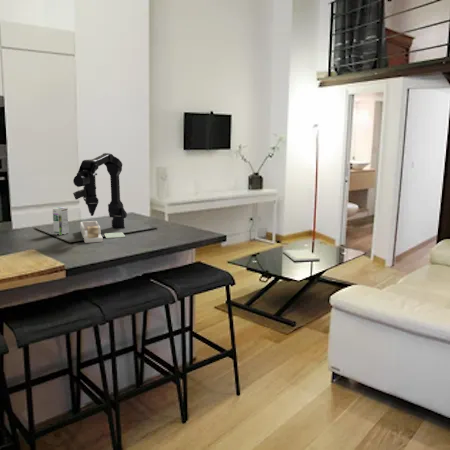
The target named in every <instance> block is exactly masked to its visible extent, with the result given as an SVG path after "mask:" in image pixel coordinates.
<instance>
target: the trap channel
mask: <svg viewBox="0 0 450 450" xmlns="http://www.w3.org/2000/svg"><path fill="white" fill-rule="evenodd" d="M87 226H97V227H98V237H94V238H88V233H87ZM80 233H81V236H82V239H83V238H84V239H83V241H84V244H85V243H87V244H89V243H102V242H104V238H103V236H102V234H101V233H102V231H101V226H100V224H99V222H98V221H97V220H91V221H90V220H89V221H80Z"/></svg>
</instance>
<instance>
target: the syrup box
mask: <svg viewBox="0 0 450 450" xmlns="http://www.w3.org/2000/svg"><path fill="white" fill-rule="evenodd" d="M68 212H69V211H68V207H63V206H56V207H52V221H53V222H52V223H53V234H54V235H57V234H59V236H63V235H62V234H64V235H67V234H66V233H68V234H69V215H68Z"/></svg>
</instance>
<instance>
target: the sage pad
mask: <svg viewBox="0 0 450 450" xmlns="http://www.w3.org/2000/svg"><path fill="white" fill-rule="evenodd" d="M103 234H104V236H105V239H107V240H108V239H119V238H126V235H125V234H124V233H123V232H122V231H121V232H108V233H107V232H105V233H103Z"/></svg>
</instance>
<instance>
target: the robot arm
mask: <svg viewBox="0 0 450 450" xmlns="http://www.w3.org/2000/svg"><path fill="white" fill-rule="evenodd" d="M103 165H105V167H106V171H107V173H108V174H109V177H110V178H109V179H110V195H111V197H110V198H111V199H110V202H109V203H108V204H107V207H108V208H107V209H108V210H107V211H108V215H109V218H112V219H111V227H112V229H114V230H115V229H116V230H117V229H125V219H126V218H127V215H128V214H127V211H126V210H125V209H124V204H123V202H122V200H121V190H120V189H121V188H120V174H121V172H123V163H122V161H121V160H120V159H119V158H118V157H116V156H114V155H113V154H112V153H110V152H109V153H108V152H103V153H102V154H101V155H99V156H96V157H95V158H91V159H84V160H82V161H81V163H80V166H79V168H78V171H77V173H76V175H75V176H74V178H73V184H74V186H75V187H77V188H81V187H82V189H79V190H77V191H74V192H73V193H72V194H73V196H74V200H79V199H81V198H83V201H85V205H86V206H87V208H88V212H89V214H90V216H91V217H93V216H94V215H95V212H96V209H97V208H98V205H99V198H98V197H97V190H96V189H97V184H96V176H98V173H97V172H96V171H97V170H99V167H101V166H103Z"/></svg>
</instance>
